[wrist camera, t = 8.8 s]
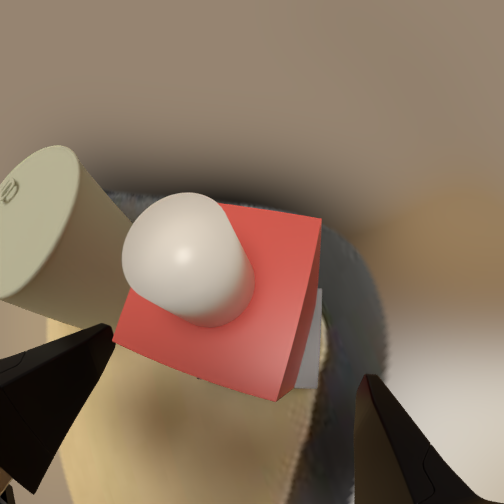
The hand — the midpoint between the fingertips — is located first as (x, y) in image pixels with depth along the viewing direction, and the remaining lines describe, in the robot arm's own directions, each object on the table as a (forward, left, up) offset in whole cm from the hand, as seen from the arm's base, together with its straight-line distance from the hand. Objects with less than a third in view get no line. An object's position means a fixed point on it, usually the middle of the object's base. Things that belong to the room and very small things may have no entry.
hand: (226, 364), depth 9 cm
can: (+4, +12, -10) cm, 17 cm away
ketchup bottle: (+2, 0, -7) cm, 8 cm away
